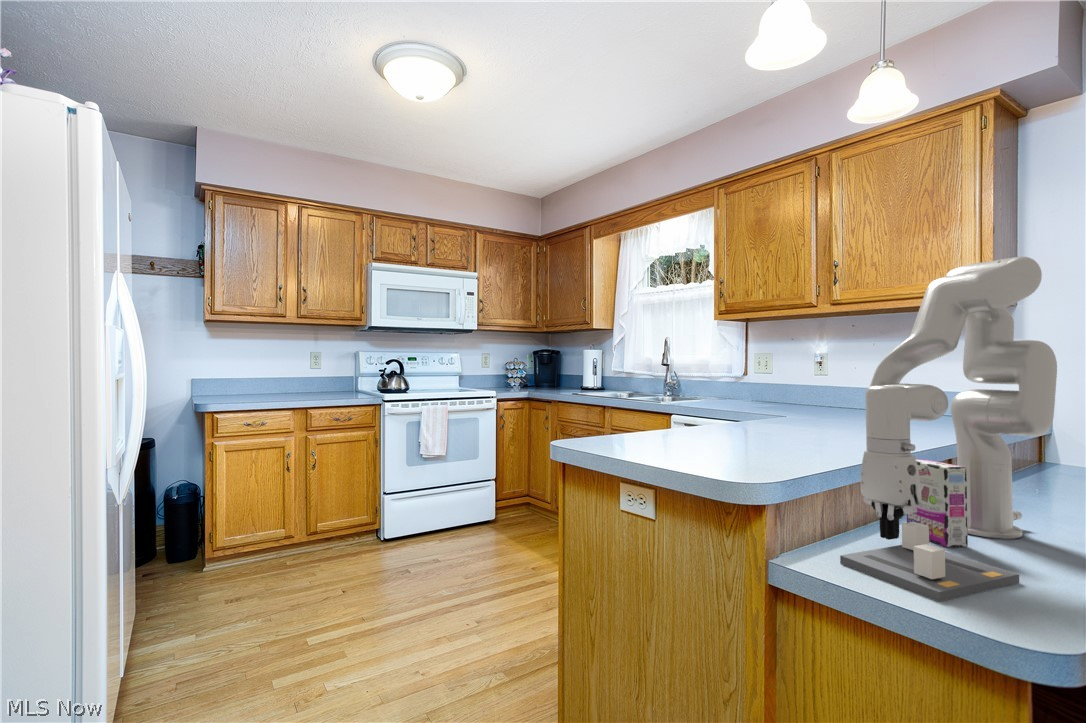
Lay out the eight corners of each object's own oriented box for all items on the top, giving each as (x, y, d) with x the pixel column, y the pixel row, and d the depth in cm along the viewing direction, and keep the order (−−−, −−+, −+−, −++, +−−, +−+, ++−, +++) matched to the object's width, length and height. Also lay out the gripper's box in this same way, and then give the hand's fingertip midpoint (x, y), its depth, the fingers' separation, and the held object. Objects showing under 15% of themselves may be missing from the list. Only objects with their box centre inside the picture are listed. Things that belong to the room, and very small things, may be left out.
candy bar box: (969, 547, 110) (968, 467, 110) (947, 548, 110) (945, 467, 110) (926, 531, 121) (925, 458, 121) (905, 532, 121) (904, 458, 121)
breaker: (927, 570, 93) (926, 544, 93) (945, 576, 90) (944, 549, 90) (914, 572, 92) (913, 546, 92) (932, 579, 89) (931, 551, 89)
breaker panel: (914, 550, 109) (914, 542, 109) (1019, 583, 92) (1019, 573, 92) (840, 563, 102) (840, 554, 102) (939, 601, 85) (939, 591, 85)
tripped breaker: (913, 544, 106) (913, 521, 106) (929, 549, 103) (928, 525, 103) (902, 546, 105) (901, 523, 105) (917, 551, 102) (917, 527, 102)
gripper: (938, 450, 103) (940, 547, 103) (868, 441, 117) (869, 525, 117) (911, 453, 101) (912, 551, 101) (842, 443, 115) (843, 529, 115)
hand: (889, 537), depth 109 cm, fingers closed
